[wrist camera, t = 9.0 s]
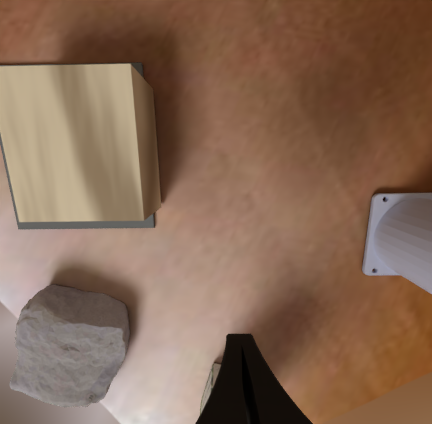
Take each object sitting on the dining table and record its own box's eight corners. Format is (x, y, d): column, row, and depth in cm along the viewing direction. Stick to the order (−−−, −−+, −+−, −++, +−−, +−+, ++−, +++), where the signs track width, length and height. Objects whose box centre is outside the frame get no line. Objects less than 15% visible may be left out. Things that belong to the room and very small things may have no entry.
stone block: (141, 291, 25) (40, 276, 23) (134, 323, 21) (7, 310, 18) (121, 370, 28) (30, 365, 26) (111, 414, 24) (-1, 413, 21)
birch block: (130, 63, 14) (-14, 66, 14) (144, 220, 16) (19, 222, 16) (153, 89, 19) (46, 91, 19) (161, 207, 21) (65, 208, 21)
